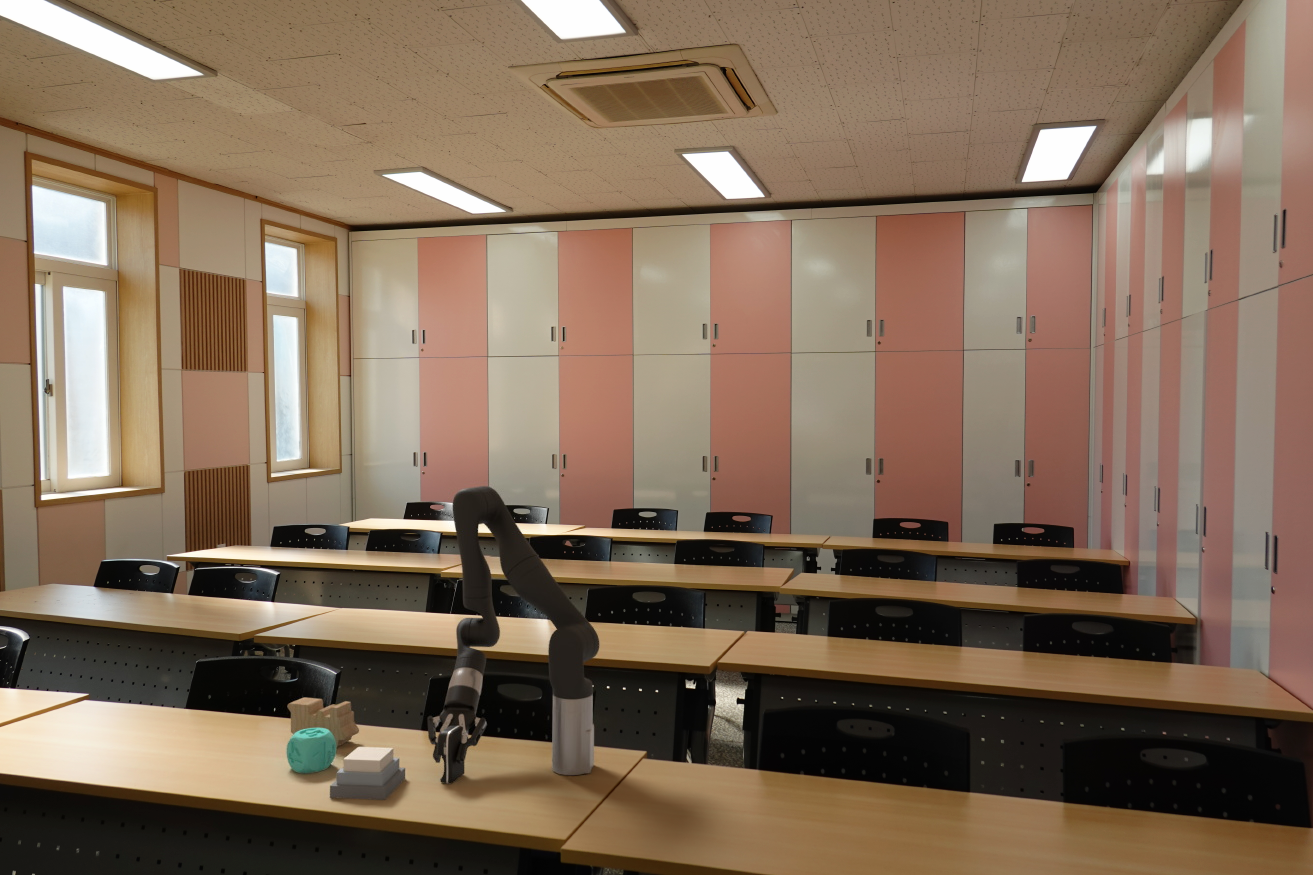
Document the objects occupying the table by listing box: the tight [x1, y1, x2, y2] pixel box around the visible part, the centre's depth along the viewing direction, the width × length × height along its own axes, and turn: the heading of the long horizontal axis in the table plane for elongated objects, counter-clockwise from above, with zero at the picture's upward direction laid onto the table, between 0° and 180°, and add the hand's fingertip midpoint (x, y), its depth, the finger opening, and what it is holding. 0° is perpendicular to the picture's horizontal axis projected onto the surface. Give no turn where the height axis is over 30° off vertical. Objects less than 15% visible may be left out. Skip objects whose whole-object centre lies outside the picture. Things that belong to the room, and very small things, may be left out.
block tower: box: [329, 746, 406, 801], centre depth 199 cm, size 12×12×8 cm
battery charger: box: [437, 726, 465, 785], centre depth 205 cm, size 7×4×11 cm, turn 164°
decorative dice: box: [286, 728, 337, 774], centre depth 212 cm, size 8×8×8 cm
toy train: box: [287, 697, 360, 748], centre depth 229 cm, size 6×17×10 cm, turn 73°
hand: (448, 761), depth 203 cm, fingers closed on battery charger, 4 cm apart
